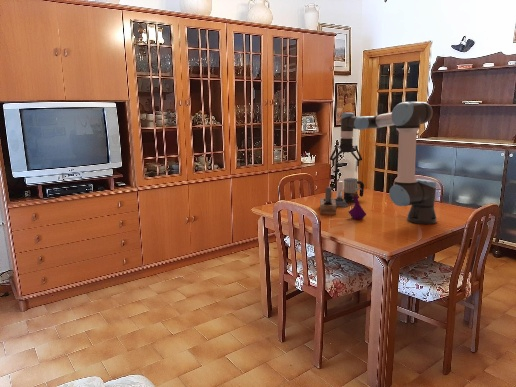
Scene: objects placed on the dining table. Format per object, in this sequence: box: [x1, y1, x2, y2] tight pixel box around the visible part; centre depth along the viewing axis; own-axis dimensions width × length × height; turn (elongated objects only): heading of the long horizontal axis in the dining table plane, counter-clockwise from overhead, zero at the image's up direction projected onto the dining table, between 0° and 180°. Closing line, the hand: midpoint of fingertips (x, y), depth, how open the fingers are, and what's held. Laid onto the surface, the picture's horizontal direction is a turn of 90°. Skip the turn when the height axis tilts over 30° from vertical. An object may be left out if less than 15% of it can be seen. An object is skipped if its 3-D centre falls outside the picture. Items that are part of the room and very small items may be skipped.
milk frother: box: [343, 177, 365, 203], centre depth 272 cm, size 14×16×15 cm
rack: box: [319, 197, 337, 216], centre depth 246 cm, size 18×9×6 cm, turn 172°
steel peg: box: [336, 180, 344, 201], centre depth 258 cm, size 4×4×14 cm
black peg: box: [324, 186, 333, 205], centre depth 241 cm, size 4×4×14 cm
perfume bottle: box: [348, 187, 367, 221], centre depth 227 cm, size 8×8×18 cm
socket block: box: [334, 198, 349, 208], centre depth 260 cm, size 10×10×3 cm
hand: (345, 171), depth 257 cm, fingers open, 13 cm apart
